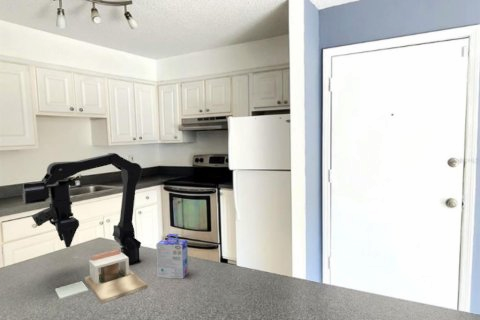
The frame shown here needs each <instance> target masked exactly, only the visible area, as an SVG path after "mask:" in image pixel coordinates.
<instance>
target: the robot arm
mask: <svg viewBox="0 0 480 320" xmlns="http://www.w3.org/2000/svg"><path fill="white" fill-rule="evenodd" d="M111 165H112V166H113V167H114V168H116V169H117V170H119V171H120V176H121V179H122V185H123V188H122V198H121V207H120V216H119V222H118V223H117V225H116V224H114V225H113V232H112V236H113V239H114V241H116V243H118V245H119V246H120V252H122V253H123V254H124V255H126V256H127V257H128V258H129V266H131V265H132V266H133V265H136V264H139V263H141V262H142V260H141V259H140V258H141V257H140V248H141V245H142V242H141V241H139V240H138V239H137V238H136V236H135V235H136V234H135V227H134V224H133V218H134V217H133V216H134V209H135V199H136V189H137V188H136V187H137V185H138V183H139V182H140V179H141V176H142V173H143V169H142V165H140V164H139V163H136V162H131V161H130V160H128V159H126V158H124V157H122V156H120V155H119V154H118V153H115V152H110V153H107V154H104V155H99V156H93V157H89V158H84V159H78V160H74V161H55V162H51V163H49V164H48V166H47V168H46V174H45V175H44V176H43V178H42V179H41V181H37V182H23V183H22V193H21V194H22V200H23V204H24V205H25V206H26V205H33V204H39V203H45V202H47V201H46V200H48V199H49V198H50V202H49V205H48V206H49V207H46V208H45V209H42V210H40V211H39V212H36V213H34V214H33V215H31V218H32V220H33V222H35V224H36V226H37V227H40V226H42V225H43V224H45V223H47V222H49V223H50V224H51V225H52V226H54V227H55V231H56V232H57V235H58V237H59V240H60V241H61V242H62V241H63V242H64V246H65V247H66V248H70V247H71V245H72V242H73V240H74V237H75V235H76V233H77V229H79V227H80V221H79V219H77V218H76V217H74V213H73V212H72V205H73V201H71V200H72V199H71V191H70V186H73V185H76V184H77V183H76V181H73V179H71V177H72V176H75V175H76V174H79V173H81V172H84V171H88V170H93V169H97V168H101V167H104V166H105V167H106V166H111Z"/></svg>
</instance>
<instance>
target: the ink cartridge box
mask: <svg viewBox="0 0 480 320" xmlns="http://www.w3.org/2000/svg"><path fill="white" fill-rule="evenodd" d="M178 236H179V234H178V233H168V235H167V239H161V240H160V241H158V242H157V243H156V244H155V246H156V248H155V249H156V277H157V278H163V279H165V278H167V279H184V278H185V277H186V276H187V275H188V274H189V265H188V264H189V263H188V262H189V261H188V260H189V258H188V255H189V254H188V240H187V239H178V238H179V237H178ZM173 237H175V238H173Z"/></svg>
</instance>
